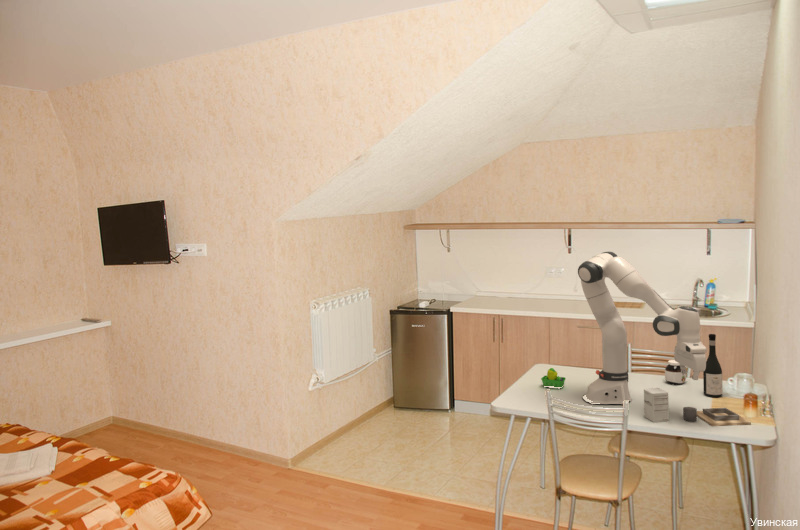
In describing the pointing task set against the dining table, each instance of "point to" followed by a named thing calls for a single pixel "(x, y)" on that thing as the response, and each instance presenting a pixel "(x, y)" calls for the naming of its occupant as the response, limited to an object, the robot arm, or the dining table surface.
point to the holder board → (721, 417)
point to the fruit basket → (553, 379)
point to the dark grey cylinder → (690, 414)
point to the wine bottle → (712, 372)
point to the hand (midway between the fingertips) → (689, 376)
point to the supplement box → (656, 405)
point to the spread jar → (674, 373)
